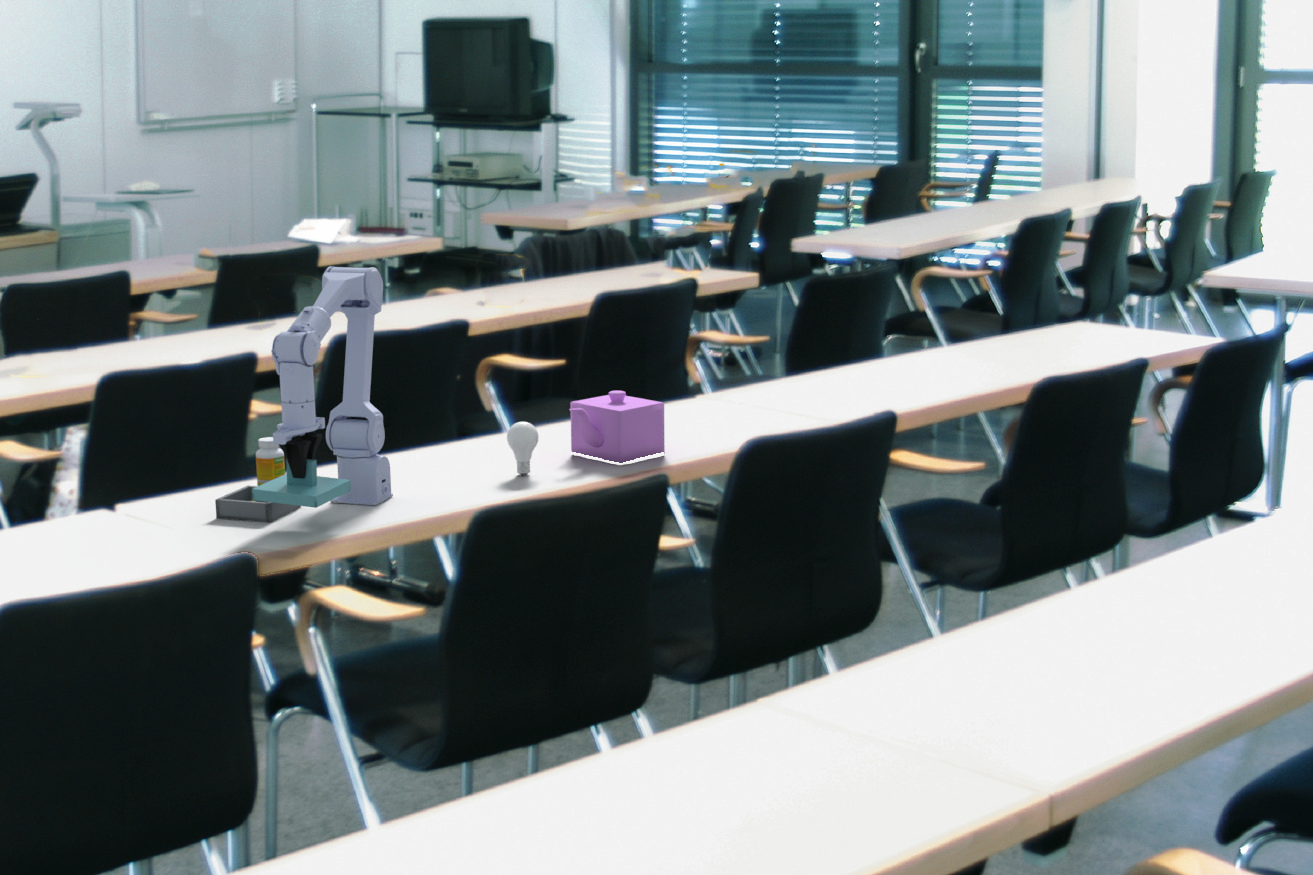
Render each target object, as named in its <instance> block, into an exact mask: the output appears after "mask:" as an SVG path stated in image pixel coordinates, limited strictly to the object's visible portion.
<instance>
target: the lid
mask: <svg viewBox="0 0 1313 875" xmlns="http://www.w3.org/2000/svg"><path fill="white" fill-rule="evenodd" d="M317 464H318V463H317V459H314V460H312V459H307V462H306V475H305V478H293V476H292V473H291V470H290V467H289V464H288V461H287V460H286V473H285V475H283V476H280V477H278V478H276V479H273V480H271V481H269V482H267V483H264V484H262V485H260V486H258V485H256V486H257V487H255V488H253V489H252V500H256V501H265V502H273V503H281V504H289V505H297V506H301V507H307V508H308V507H309V508H314V509H315V508H319V507H321V506H323V505H325V504H327V503H329V502H330V501H331V500H333V499H335V498H337V497H339V496H341V495H343V494H345V493H347V492H349V491H351V485H350V480H346V479H338V477H337V478H336V477H326V476H320V475H318V471H317V470H318V469H317V468H318V467H317Z"/></svg>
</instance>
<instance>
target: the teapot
mask: <svg viewBox="0 0 1313 875" xmlns="http://www.w3.org/2000/svg"><path fill="white" fill-rule="evenodd" d="M568 410H569V411H570V438H571V440H570V445H571V446H570V450H571V451H572V452H576V453H581V454H584V455H589V456H593V457H598V458H602V459H604V460H609V461H614V462H619V463H623V462H626V461H630V460H634V459H636V458H640V457H645V456H648V455H653V454H656V453H661V452H664V453H665V403H664V402H662V401H657V400H651V399H646V398H642V397H634V396H630V395H629V396H628V395H627V393H626V391H624V390H611V391H609V392H608V394H607V395H606V394H605V395H601V396H595V397H594V396H593V397H590V398H585V399H579V400H573V401H570V408H569V409H568ZM571 451H570V452H571Z"/></svg>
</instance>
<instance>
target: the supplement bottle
mask: <svg viewBox="0 0 1313 875" xmlns="http://www.w3.org/2000/svg"><path fill="white" fill-rule="evenodd" d="M258 447H259V449H257V450H256V452H255V465H256V467H255V468H256V482H257V484H256V486H260V485H262V484H264V483H267V482H269V481H271V480H273V479H276V478H278V477H280V476H283V475H285V474H286V468H285V464H286V463H285V454H284V452H283V451H282V449H281V448H280V446H279V445H278V444H273V436H267V437H262V438H261V437H260V438H259V439H258Z"/></svg>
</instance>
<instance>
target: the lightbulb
mask: <svg viewBox="0 0 1313 875" xmlns="http://www.w3.org/2000/svg"><path fill="white" fill-rule="evenodd" d="M506 440H507V444H508V446H509V448H510V449H511V450H512V453H513V455H514V459H515V461H516V473H517V474H519V475H520V474H522V475H521V476H526V475H528V474H530V473H531V459H532V457H533V456H532V455H533V452H534V450H535V448H536V447H537V445H538V442H539V432H538V430H537V428H536V427H535V425H533V424H532V423H531V422H528V421H518V422H515V423H513V424H512V425H511V426H510V427H509V428H508V431H507V433H506ZM525 474H526V475H525Z"/></svg>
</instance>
